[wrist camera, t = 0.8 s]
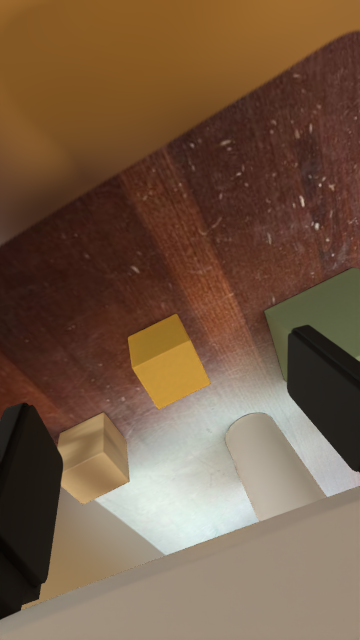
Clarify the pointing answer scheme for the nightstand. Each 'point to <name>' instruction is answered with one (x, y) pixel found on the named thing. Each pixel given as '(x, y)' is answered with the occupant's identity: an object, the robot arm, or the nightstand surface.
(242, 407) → the nightstand surface
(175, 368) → the mustard block
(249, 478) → the vase
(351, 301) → the stand
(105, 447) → the maple block
